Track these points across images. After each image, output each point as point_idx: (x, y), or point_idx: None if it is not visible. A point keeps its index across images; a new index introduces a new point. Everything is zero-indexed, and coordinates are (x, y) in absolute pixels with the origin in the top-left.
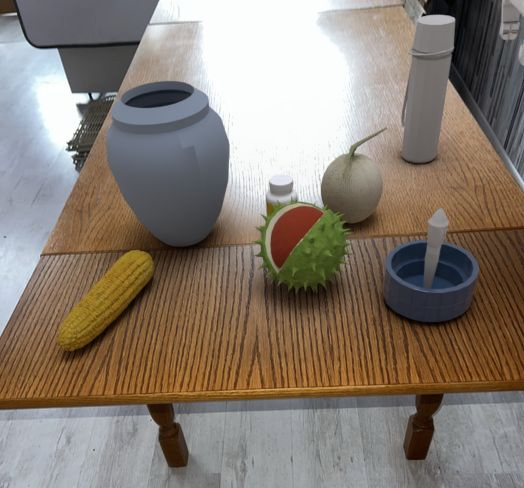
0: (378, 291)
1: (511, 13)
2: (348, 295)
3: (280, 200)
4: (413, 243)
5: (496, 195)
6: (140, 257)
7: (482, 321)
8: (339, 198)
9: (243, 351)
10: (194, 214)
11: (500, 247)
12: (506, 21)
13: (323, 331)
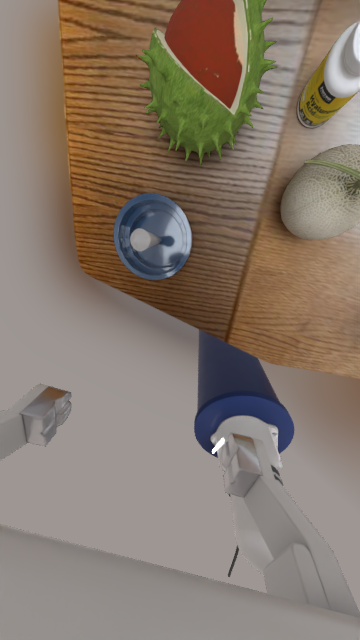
0: (175, 201)
1: (267, 515)
2: (175, 169)
3: (334, 50)
4: (187, 235)
5: (276, 349)
6: None
7: (129, 271)
8: (301, 169)
9: (109, 15)
10: None
11: (206, 319)
12: (257, 482)
13: (130, 128)
